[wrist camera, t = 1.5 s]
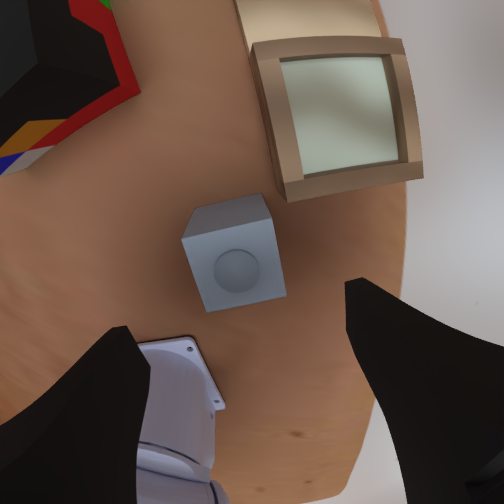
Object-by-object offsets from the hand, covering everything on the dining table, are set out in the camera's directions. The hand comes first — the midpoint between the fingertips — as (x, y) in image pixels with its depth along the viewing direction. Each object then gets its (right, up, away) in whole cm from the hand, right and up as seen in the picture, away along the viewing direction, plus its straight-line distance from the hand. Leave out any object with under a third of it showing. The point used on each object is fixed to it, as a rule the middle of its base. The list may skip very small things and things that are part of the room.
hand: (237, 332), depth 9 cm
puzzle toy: (-12, +14, +3) cm, 19 cm away
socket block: (+4, +13, +5) cm, 15 cm away
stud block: (-1, +4, +9) cm, 10 cm away
